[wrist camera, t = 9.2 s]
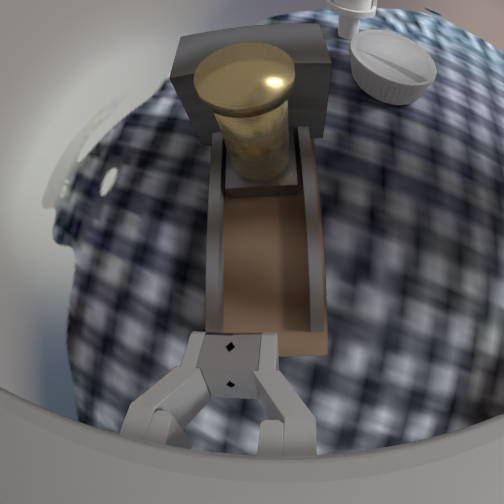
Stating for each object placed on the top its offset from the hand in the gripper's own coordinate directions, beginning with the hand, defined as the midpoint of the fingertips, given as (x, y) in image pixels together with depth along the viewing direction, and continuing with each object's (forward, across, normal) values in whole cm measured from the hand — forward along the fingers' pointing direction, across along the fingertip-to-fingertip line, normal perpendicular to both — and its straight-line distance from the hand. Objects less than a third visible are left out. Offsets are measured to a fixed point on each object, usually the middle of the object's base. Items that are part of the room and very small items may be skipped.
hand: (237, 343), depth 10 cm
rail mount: (+19, 0, +4) cm, 19 cm away
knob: (+20, 0, -1) cm, 20 cm away
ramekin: (+32, -16, -9) cm, 37 cm away
